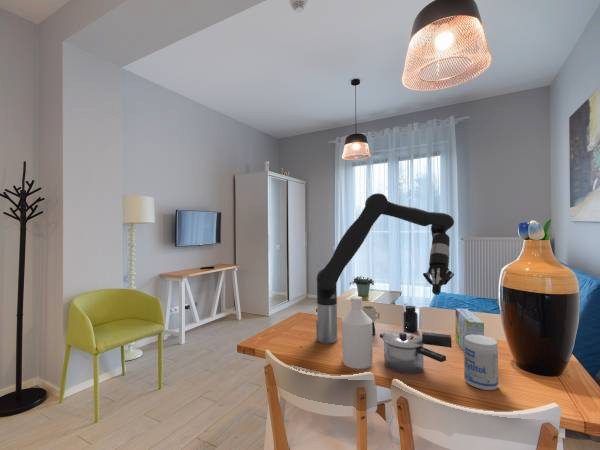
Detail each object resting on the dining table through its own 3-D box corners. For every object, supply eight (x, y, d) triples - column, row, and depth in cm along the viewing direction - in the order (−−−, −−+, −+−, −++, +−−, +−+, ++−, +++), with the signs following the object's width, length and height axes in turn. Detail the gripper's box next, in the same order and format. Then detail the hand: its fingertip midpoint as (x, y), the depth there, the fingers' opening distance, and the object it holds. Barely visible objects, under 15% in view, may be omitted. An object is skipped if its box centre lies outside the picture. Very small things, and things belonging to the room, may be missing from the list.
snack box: (485, 361, 112) (484, 322, 112) (469, 360, 113) (468, 321, 114) (468, 341, 133) (467, 308, 133) (454, 340, 134) (454, 307, 134)
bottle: (336, 358, 116) (335, 296, 117) (360, 353, 121) (359, 293, 121) (353, 371, 105) (352, 302, 106) (379, 365, 110) (378, 299, 111)
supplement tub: (461, 384, 96) (460, 339, 96) (467, 373, 103) (466, 332, 103) (496, 395, 89) (495, 347, 90) (500, 382, 97) (499, 338, 97)
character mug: (381, 332, 144) (381, 306, 145) (378, 337, 138) (377, 310, 139) (360, 329, 150) (360, 304, 150) (356, 333, 144) (355, 307, 144)
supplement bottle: (403, 331, 146) (402, 307, 146) (403, 327, 152) (403, 304, 152) (417, 333, 143) (417, 309, 143) (417, 329, 150) (417, 305, 150)
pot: (370, 359, 115) (369, 336, 115) (394, 351, 123) (393, 329, 123) (431, 390, 92) (430, 362, 93) (456, 378, 100) (455, 351, 100)
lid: (380, 345, 106) (380, 334, 106) (385, 332, 120) (385, 323, 120) (453, 355, 97) (453, 343, 97) (449, 339, 111) (449, 329, 111)
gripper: (420, 254, 129) (416, 291, 122) (450, 250, 119) (447, 290, 111) (429, 261, 133) (426, 297, 125) (459, 258, 122) (457, 297, 115)
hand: (436, 294), depth 118 cm, fingers closed
